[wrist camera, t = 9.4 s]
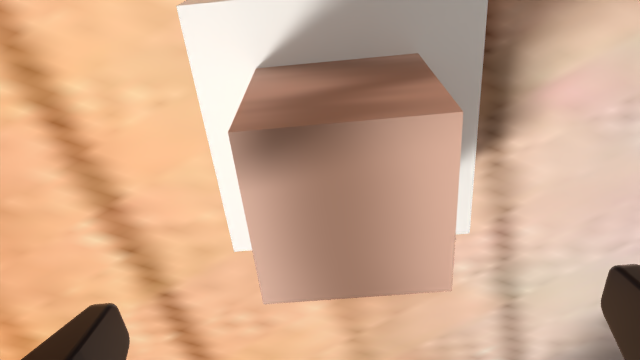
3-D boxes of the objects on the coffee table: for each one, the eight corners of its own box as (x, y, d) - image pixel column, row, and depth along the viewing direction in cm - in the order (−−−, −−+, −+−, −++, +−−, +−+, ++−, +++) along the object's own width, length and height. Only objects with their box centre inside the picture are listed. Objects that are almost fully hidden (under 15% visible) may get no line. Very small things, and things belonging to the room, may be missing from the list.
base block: (453, -37, 16) (490, -27, 13) (444, 181, 21) (469, 233, 17) (206, -11, 17) (176, 6, 13) (248, 197, 21) (234, 251, 18)
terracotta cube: (417, 53, 14) (463, 111, 10) (416, 193, 16) (451, 290, 12) (255, 68, 14) (228, 132, 10) (278, 204, 17) (263, 304, 12)
